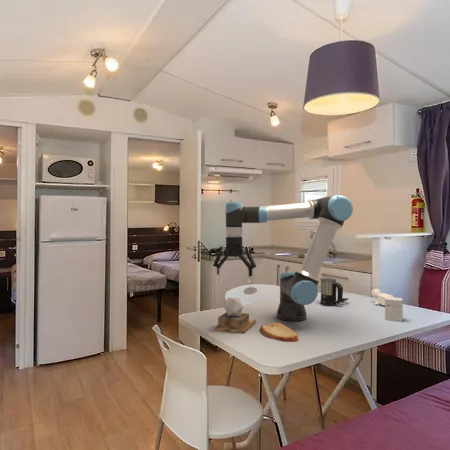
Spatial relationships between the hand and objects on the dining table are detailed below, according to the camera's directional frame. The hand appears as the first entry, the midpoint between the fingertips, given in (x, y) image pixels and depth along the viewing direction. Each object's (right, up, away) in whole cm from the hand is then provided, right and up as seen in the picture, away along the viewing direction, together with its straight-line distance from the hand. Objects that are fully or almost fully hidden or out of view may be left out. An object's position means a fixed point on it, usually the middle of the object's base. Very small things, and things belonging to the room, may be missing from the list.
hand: (234, 282), depth 171 cm
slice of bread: (+19, -22, -8) cm, 30 cm away
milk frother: (+60, -20, +48) cm, 79 cm away
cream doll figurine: (+87, -20, +45) cm, 100 cm away
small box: (+80, -21, +15) cm, 84 cm away
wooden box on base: (+1, -21, +4) cm, 21 cm away
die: (0, -15, 0) cm, 15 cm away
